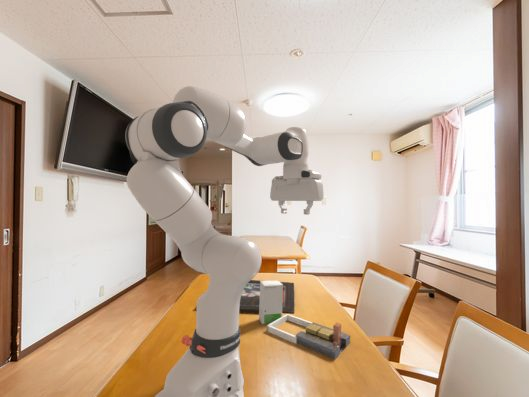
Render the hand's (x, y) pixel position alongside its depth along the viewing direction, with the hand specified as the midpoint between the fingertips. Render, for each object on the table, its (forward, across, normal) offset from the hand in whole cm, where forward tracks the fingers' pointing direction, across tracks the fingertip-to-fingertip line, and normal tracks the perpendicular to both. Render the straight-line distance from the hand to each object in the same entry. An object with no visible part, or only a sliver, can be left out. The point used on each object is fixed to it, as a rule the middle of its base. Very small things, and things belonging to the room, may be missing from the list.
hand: (294, 213), depth 89 cm
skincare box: (+44, -14, +6) cm, 47 cm away
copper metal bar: (+43, +15, +3) cm, 45 cm away
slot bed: (+44, +10, +3) cm, 45 cm away
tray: (+44, -3, +4) cm, 44 cm away
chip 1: (+43, +6, +4) cm, 44 cm away
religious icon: (+45, -39, +21) cm, 63 cm away
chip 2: (+43, +11, +3) cm, 44 cm away
